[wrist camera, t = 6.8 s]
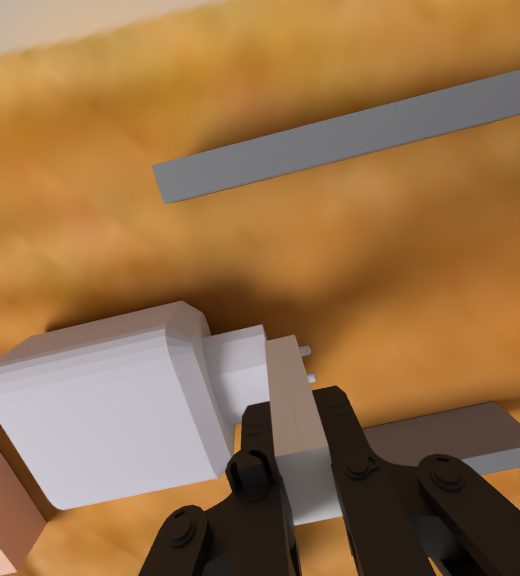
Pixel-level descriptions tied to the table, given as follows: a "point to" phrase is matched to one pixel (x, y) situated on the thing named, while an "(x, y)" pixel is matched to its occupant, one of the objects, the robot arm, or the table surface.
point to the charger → (130, 402)
